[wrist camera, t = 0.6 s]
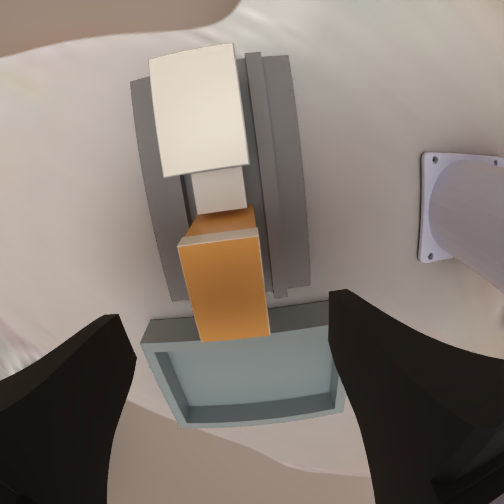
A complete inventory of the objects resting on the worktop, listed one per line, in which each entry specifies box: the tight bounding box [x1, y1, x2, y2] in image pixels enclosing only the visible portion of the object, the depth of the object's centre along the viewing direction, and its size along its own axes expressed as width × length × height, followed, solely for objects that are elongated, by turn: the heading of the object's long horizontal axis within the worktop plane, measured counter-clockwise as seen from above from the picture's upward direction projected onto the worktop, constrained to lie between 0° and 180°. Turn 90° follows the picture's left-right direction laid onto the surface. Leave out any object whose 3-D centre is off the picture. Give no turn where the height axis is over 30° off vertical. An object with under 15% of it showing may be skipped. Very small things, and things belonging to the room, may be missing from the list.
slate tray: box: [140, 300, 346, 428], centre depth 20 cm, size 14×10×3 cm
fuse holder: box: [130, 52, 310, 301], centre depth 15 cm, size 9×14×4 cm, turn 7°
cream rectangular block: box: [148, 43, 250, 178], centre depth 12 cm, size 3×5×6 cm
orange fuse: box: [177, 203, 270, 342], centre depth 14 cm, size 3×5×6 cm
